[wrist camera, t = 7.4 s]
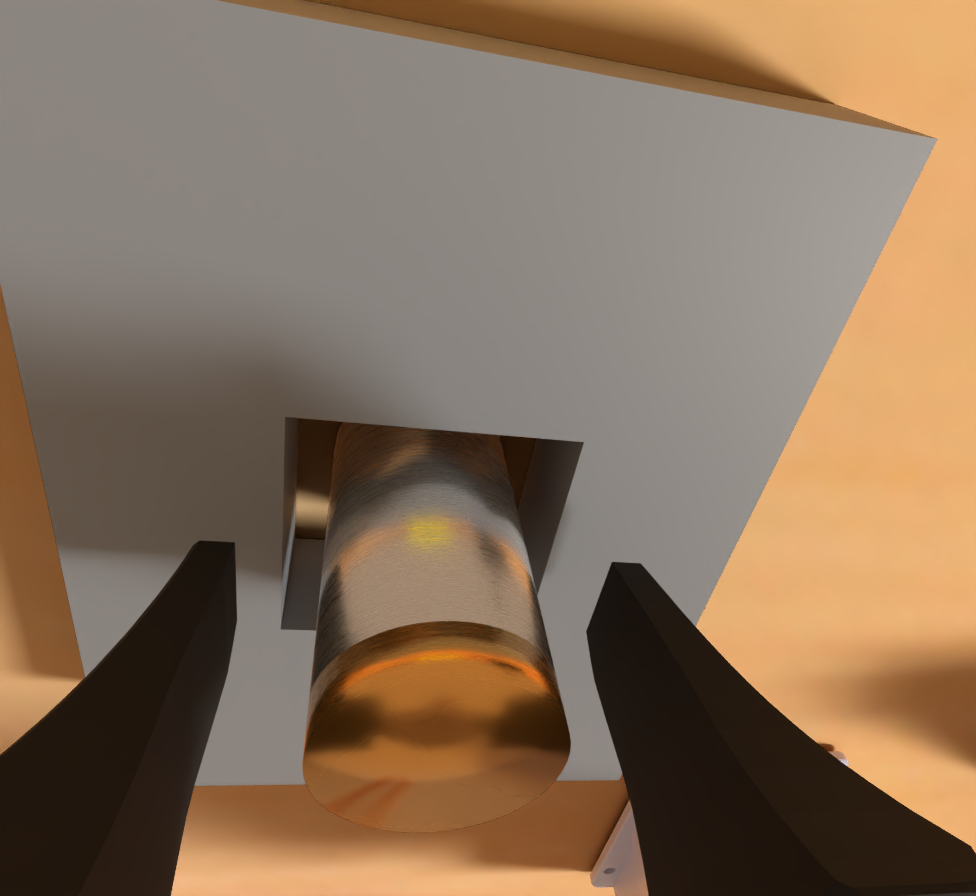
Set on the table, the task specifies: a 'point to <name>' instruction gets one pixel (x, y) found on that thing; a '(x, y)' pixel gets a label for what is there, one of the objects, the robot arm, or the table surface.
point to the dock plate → (407, 304)
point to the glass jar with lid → (428, 639)
